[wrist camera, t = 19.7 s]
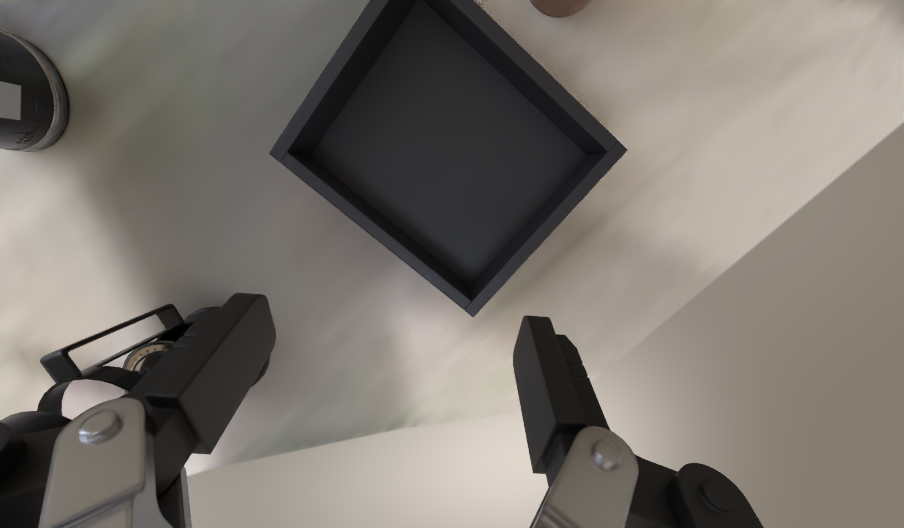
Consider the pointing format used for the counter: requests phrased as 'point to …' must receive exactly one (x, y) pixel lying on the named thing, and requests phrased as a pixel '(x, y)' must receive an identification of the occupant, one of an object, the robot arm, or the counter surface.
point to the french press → (105, 368)
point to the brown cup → (559, 6)
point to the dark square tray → (446, 143)
